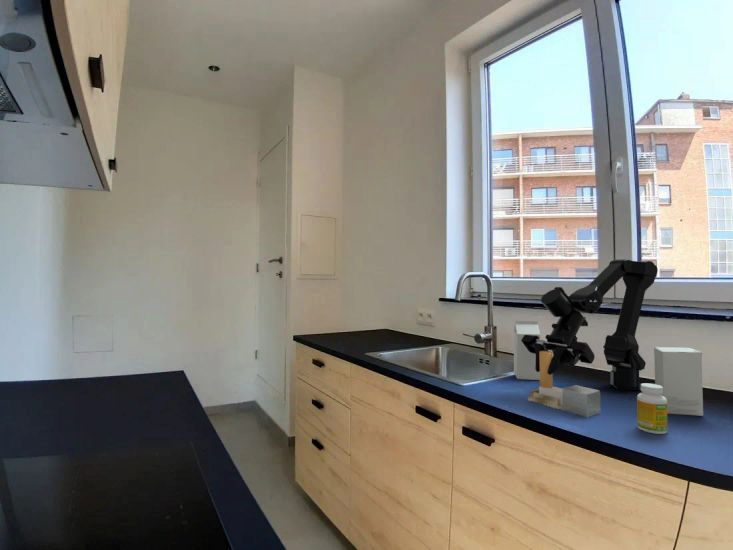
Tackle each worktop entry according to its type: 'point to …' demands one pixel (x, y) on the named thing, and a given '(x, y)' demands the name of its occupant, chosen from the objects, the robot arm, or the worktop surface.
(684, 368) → the skincare box
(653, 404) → the supplement bottle
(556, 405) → the cradle
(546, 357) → the orange upright rod
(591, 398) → the socket
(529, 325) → the milk carton
